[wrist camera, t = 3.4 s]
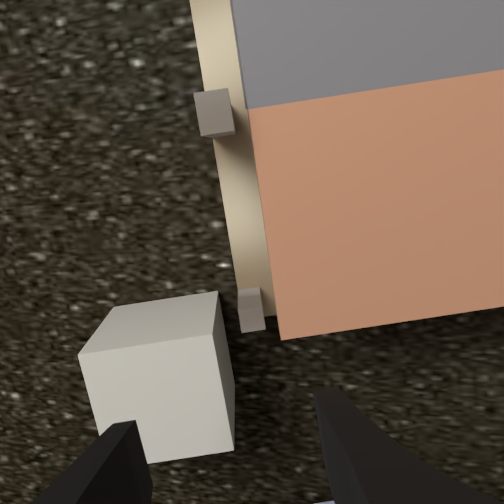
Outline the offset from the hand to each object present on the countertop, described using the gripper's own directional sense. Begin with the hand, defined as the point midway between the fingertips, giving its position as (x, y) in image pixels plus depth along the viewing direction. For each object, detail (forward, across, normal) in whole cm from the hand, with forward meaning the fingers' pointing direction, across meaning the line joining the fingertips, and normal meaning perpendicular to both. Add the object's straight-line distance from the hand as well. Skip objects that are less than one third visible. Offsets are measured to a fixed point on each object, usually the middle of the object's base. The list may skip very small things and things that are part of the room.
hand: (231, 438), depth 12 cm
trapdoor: (+7, -8, -7) cm, 13 cm away
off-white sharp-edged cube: (+10, +3, +2) cm, 11 cm away
